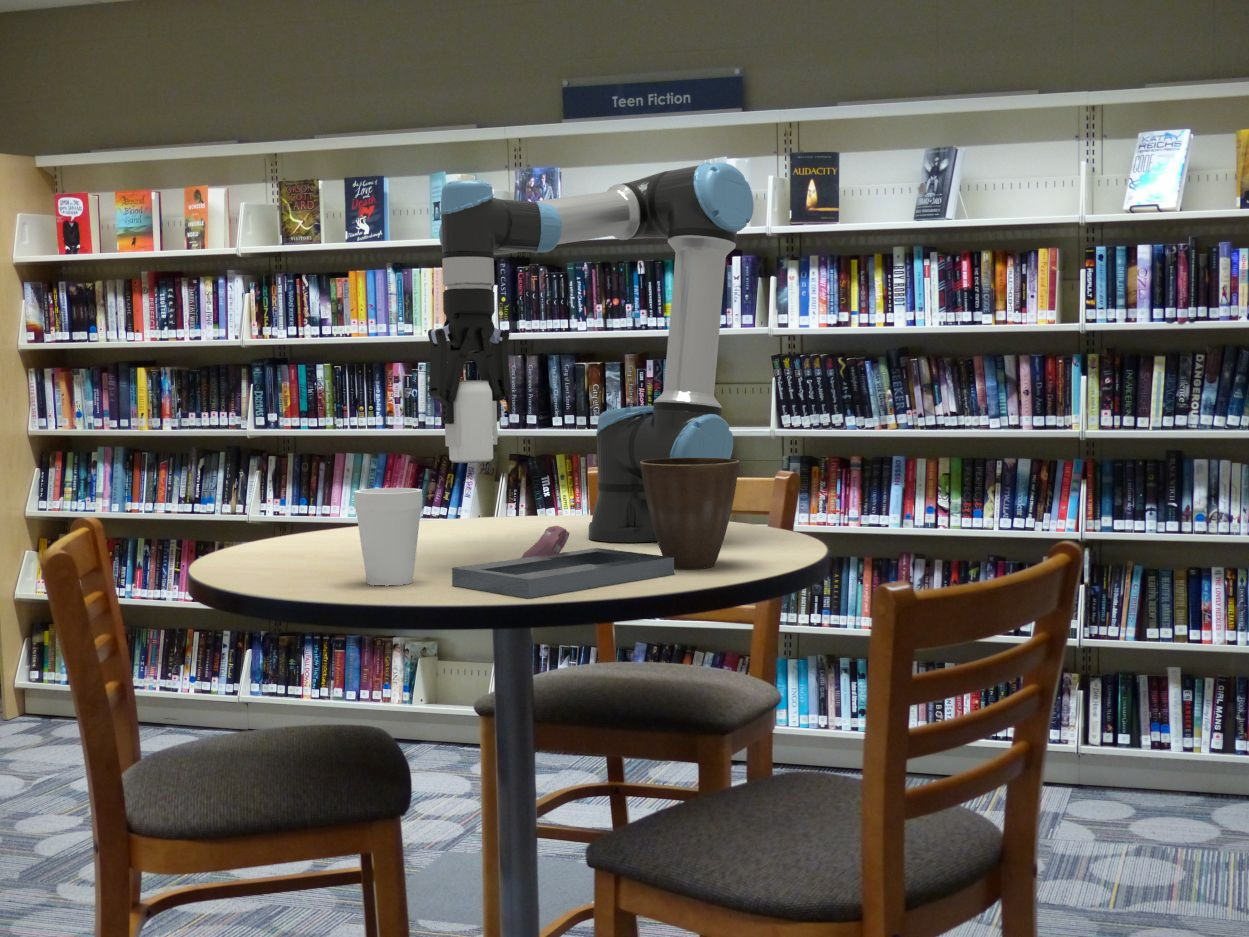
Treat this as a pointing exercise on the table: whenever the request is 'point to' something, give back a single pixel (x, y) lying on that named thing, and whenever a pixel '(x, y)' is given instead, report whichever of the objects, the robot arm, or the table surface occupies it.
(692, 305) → the robot arm
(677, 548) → the plant pot
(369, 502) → the foam cup
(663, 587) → the table surface
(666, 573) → the keyhole plate
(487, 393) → the can
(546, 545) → the video game controller
